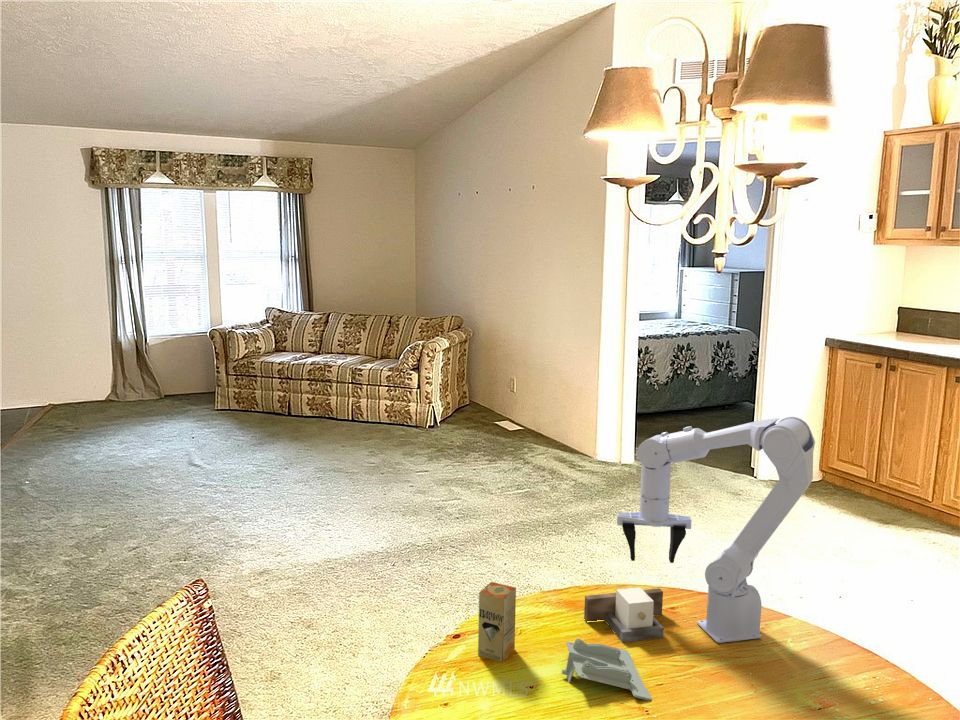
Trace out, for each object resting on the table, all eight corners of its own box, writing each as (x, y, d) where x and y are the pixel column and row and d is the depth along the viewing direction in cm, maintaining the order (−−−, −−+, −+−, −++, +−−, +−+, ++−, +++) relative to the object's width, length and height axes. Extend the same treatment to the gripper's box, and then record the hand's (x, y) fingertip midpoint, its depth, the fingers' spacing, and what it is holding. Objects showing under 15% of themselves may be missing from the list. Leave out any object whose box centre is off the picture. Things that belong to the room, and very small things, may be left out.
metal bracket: (579, 671, 124) (562, 625, 139) (568, 703, 125) (552, 654, 139) (661, 691, 126) (636, 644, 140) (650, 723, 126) (626, 672, 141)
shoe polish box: (490, 642, 143) (491, 581, 141) (514, 649, 141) (515, 587, 139) (478, 655, 139) (479, 592, 137) (502, 662, 136) (504, 598, 135)
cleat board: (658, 611, 156) (659, 588, 155) (681, 635, 146) (683, 610, 146) (584, 619, 152) (584, 595, 151) (603, 644, 143) (604, 619, 142)
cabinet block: (638, 620, 152) (640, 587, 151) (653, 637, 146) (655, 603, 145) (614, 623, 151) (616, 589, 150) (629, 640, 145) (630, 605, 143)
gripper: (619, 500, 151) (616, 565, 153) (695, 503, 149) (691, 570, 151) (617, 488, 157) (614, 551, 160) (689, 492, 156) (686, 555, 158)
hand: (651, 559), depth 156 cm, fingers open, 7 cm apart
